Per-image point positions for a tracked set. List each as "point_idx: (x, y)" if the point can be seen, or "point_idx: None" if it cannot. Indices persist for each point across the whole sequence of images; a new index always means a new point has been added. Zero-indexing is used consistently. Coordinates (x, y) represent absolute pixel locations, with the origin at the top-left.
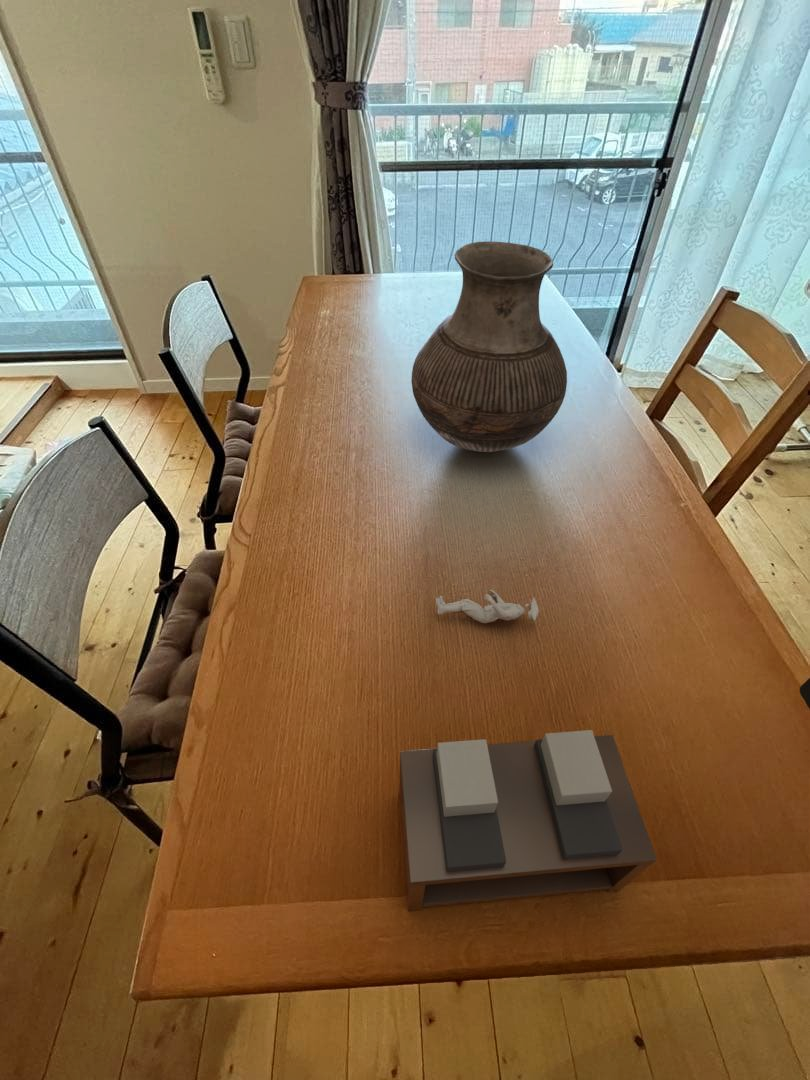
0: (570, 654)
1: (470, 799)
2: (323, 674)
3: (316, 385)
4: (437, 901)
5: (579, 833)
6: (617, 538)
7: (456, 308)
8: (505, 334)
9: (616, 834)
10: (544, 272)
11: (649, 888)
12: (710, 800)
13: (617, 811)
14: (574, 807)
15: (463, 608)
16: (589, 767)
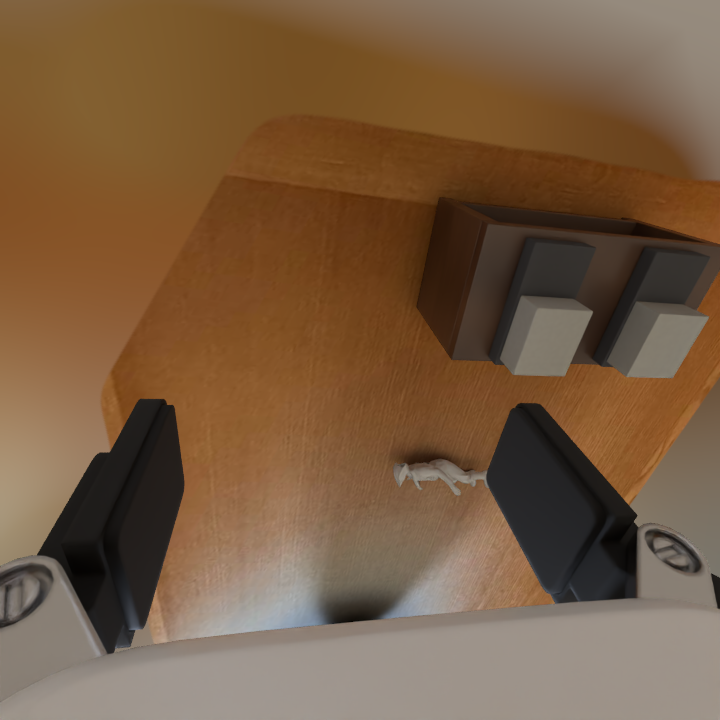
0: (368, 424)
1: (682, 320)
2: (598, 421)
3: None
4: (623, 222)
5: (569, 267)
6: (255, 536)
7: None
8: None
9: (532, 259)
10: None
11: (406, 193)
12: (293, 266)
13: (498, 281)
14: (555, 293)
15: (467, 476)
16: (544, 336)
